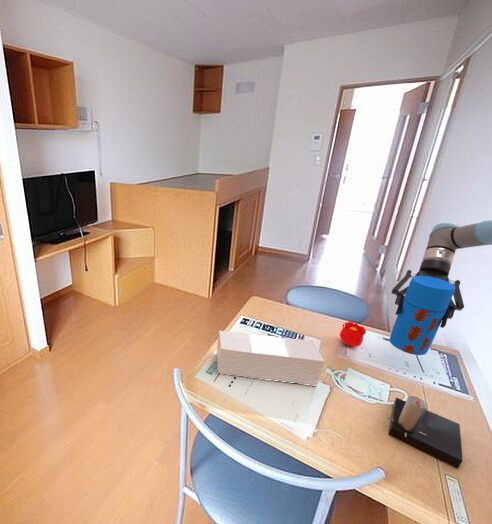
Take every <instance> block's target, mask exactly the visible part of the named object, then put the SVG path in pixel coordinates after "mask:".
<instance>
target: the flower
mask: <svg viewBox="0 0 492 524" xmlns="http://www.w3.org/2000/svg"><path fill="white" fill-rule="evenodd" d="M366 334H367V329H366V328H365V327H364V326H362V325H359V324H358V323H357V322H354V323H353V322H352V321H347V322H345V321H344V323H342V328H341V330H340V333H339V338H340V339H341V341H342V343H344V344H345V345H347V346H351V347H360V346H361V345H362V344H363V341H364V335H366Z"/></svg>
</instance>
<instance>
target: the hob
mask: <svg viewBox="0 0 492 524" xmlns="http://www.w3.org/2000/svg"><path fill="white" fill-rule="evenodd" d="M406 401H407V400H406ZM406 401H405V400H403V399H401V398H399V397H395V400H394V402H393V404H392V409H391V415H390V417H387V419H388V420H390V423H389V428H388V436H389V437H392V438H394V439H396V440H397V441H400V442H402V443H404V444H406V445H408V446H411V447H413V448H414V449H416V450H419V451H420V452H422V453H424V454H427V455H429V456H431V457H433V458H434V459H437V460H439V461H441V462H443V463H445V464H447V465H450V466H451V467H453V468H455V469H459V468H460V466H461V465H462V463H463V462H464V460H463V447H462V435H461V424H460V423H458V422H455V421H453V420H451V419H448V418H446V417H443V416H442V415H439V414H437V413H435V412H432V411H430V410H427V409H426V411H425V413H424V416H423V418H422V420H421V422H420V424H419V426H418V428H417V430H416V432H414V433H410V432H407V431H405V430H403V429H402V428H401V427H400V426H399V425H398V423H397V421H398V419H399V417H400V415H401V413H402V410H403V408H404V406H405V404H406Z"/></svg>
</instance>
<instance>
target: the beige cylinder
mask: <svg viewBox="0 0 492 524" xmlns="http://www.w3.org/2000/svg"><path fill="white" fill-rule="evenodd" d="M428 408H429V405H428V403H427V402H426V401H425V400H423V399H422V398H420V397H418V396H415V395H410V396H408V397H407V399H406V404H405V406H404V408H403V410H402V413H401V415H400V417H399V419H398V421H397V423H398V425H399V426H400V427H401V428H402V429H403V430H405V431H407V432H410V433H414V432H416V430H417V428H418V426H419V424H420V422H421V420H422V418H423V416H424V413H425V411H426V410H427V409H428Z"/></svg>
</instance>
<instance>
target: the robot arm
mask: <svg viewBox="0 0 492 524" xmlns="http://www.w3.org/2000/svg"><path fill="white" fill-rule="evenodd" d="M491 245H492V219H490V220H482V221H480V222H475V223H471V224H465V225H461V226H460V225H459V224H456V223H453V222H440V223H437V224H435V225H434V226H433V228H432V230H431V232H430V234H429V235H428V241H427V245H426V248H425V251H424V253H423V257H422V260H421V263H420V266H419V269H418V271H417V272H414V271H412V270H411V269H407V270H406V272H405V276H404V277H402V278H401V279H400V280H399V281H398V283H397V284H396V285H394V287H393V288H392V289H391V294H392V295H395V297H396V298H395V301H394V305H396V306H397V307H396V308H397V309H396V311H395V315H396V316H398V314H399V312H400V309H401V306H402V303H403V300H404V297H405V294H406V291H407V289H408V286H406V287H405V288H403V286H405V284H406V283H407V282H408V281H409V280H410V279H412V278H413V277H414V276H429V277H434V278H438V279H442V280H445V281H447V282H450V283H451V284H453V285H454V286H455V291H454V294H453V296H452V297H453V298H451V301H450V303H449V305H448V308H447V310H446V312H445V314H444V317H443V319H442V321H441V324H440V326H439V328H443V329H444V328H445V327H446V325H447V322H448V320H452V318H453V317H454V314H455V311H458V312H461V311H462V310H463V309H464V308H465V303H464V300H463V297H462V292H461V289H460V285H461V280H460V279H456V280H452V279H449V274H450V271H451V268H452V263H453V260H454V257H455V253H456V251H457V250H459V249H468V248H474V247H483V246H491ZM401 288H403V289H401ZM400 289H401V290H400ZM453 300H454V301H453Z"/></svg>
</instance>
